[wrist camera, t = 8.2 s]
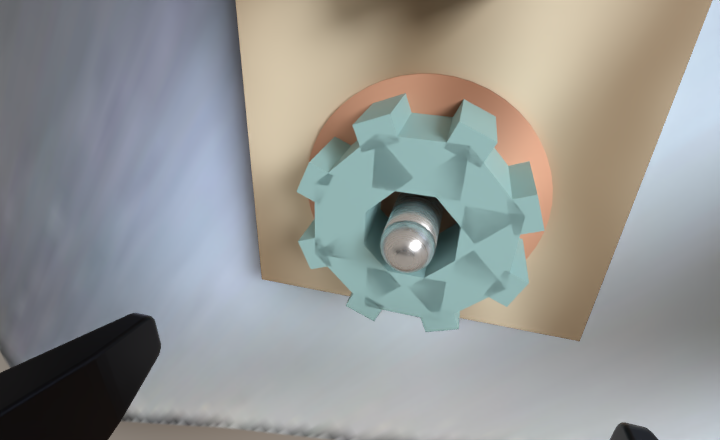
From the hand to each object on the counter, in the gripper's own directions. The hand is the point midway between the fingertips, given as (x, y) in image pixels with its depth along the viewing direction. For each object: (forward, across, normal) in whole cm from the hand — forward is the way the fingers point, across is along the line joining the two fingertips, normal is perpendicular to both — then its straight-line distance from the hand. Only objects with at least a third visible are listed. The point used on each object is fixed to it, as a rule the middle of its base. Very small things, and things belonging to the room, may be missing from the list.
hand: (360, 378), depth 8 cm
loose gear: (+8, 0, 0) cm, 8 cm away
